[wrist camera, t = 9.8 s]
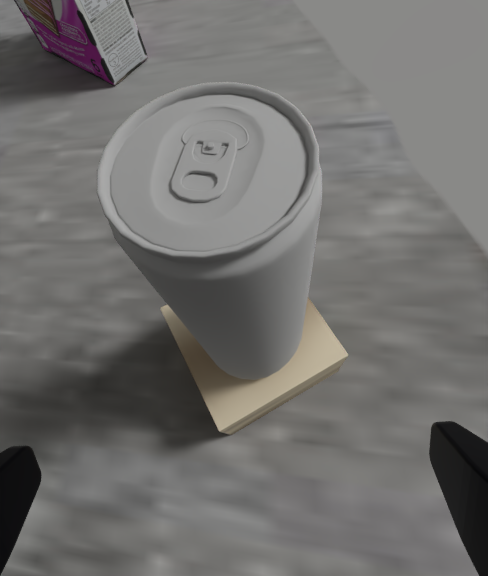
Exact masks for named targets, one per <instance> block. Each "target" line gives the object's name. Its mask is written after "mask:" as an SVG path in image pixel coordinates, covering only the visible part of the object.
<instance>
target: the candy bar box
mask: <svg viewBox="0 0 488 576" xmlns="http://www.w3.org/2000/svg"><path fill="white" fill-rule="evenodd" d="M14 1H15V3H16V4H17V6H18V7H19V9H20V11H21V12H22V14H23V16H24V17H25V19H26V20H27V22H28V24H29V25H30V27H31V29H32V30H33V32H34V34H35V35H36V37H37V39H38V40H39V42H40V44H41V45H42V47H43V48H44V49H45V50H47V51H49V52H51V53H53V54H55V55H57V56H59V57H61V58H63V59H65V60H67V61H69V62H71V63H73V64H74V65H76V66H78V67H80V68H82V69H84V70H86V71H88V72H90V73H92V74H94V75H96V76H97V77H99V78H101V79H103V80H105V81H107V82H109V83H111V84H112V85H116V84H118V83H119V82H121V81H122V80H123V79H125V78H126V77H127V75H129V74H130V73H131V72H132V71H133V70H134V69H135V68H136V67H138V66H139V65H140V64H141V63H143V62H144V61H145V60H146V59H147V58H148V56H147V53H146V50H145V47H144V45H143V42H142V39H141V36H140V33H139V30H138V28H137V25H136V22H135V19H134V16H133V14H132V11H131V8H130V5H129V2H128V0H14Z"/></svg>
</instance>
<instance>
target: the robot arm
mask: <svg viewBox="0 0 488 576" xmlns="http://www.w3.org/2000/svg"><path fill="white" fill-rule="evenodd" d="M429 455H430V461H431V464H432V467H433V469H434V472H435V474H436V477H437V480H438V482H439V485H440V487H441V490H442V492H443V495H444V497H445V500H446V502H447V505H448V508H449V510H450V513H451V515H452V518H453V520H454V523H455V525H456V528H457V530H458V533H459V535H460V537H461V540H462V542H463V544H464V546H465V548H466V550H467V552H468V555H469V557H470V558H471V560H472V562H473V564H474V566H475V568H476V570H477V572H478V574H479V576H488V442H486V441H485V440H483V439H481V438H480V437H478V436H477V435H475V434H473V433H472V432H470V431H469V430H467V429H465V428H464V427H462V426H461V425H459V424H457V423H455V422H452V421H446V422H435V423H433V425H432V427H431V438H430V450H429ZM40 482H41V470H40V468H39V465H38V462H37V460H36V457H35V455H34V452H33V450H32V448H31V447H29V446H13V447H10V448H8V449H6V450H4V451H3V452H1V453H0V575H1V573H2V571H3V569H4V567H5V565H6V563H7V561H8V559H9V557H10V555H11V552H12V550H13V548H14V546H15V543H16V541H17V539H18V536H19V534H20V531H21V529H22V527H23V524H24V522H25V519H26V517H27V514H28V512H29V510H30V507H31V505H32V502H33V500H34V498H35V495H36V493H37V490H38V488H39V485H40Z"/></svg>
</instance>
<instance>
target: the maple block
mask: <svg viewBox="0 0 488 576" xmlns="http://www.w3.org/2000/svg"><path fill="white" fill-rule="evenodd" d="M160 309H161V311H162V313H163V315H164V317H165V319H166V322H167V324H168V326H169V328H170V330H171V332H172V334H173V336H174V338H175V340H176V342H177V344H178V347H179V349H180V351H181V353H182V355H183V357H184V359H185V361H186V363H187V365H188V367H189V369H190V372H191V374H192V376H193V378H194V380H195V382H196V384H197V386H198V388H199V390H200V392H201V395H202V397H203V399H204V401H205V403H206V405H207V407H208V409H209V411H210V413H211V415H212V417H213V420H214V422H215V424H216V426H217V428H218V430H219V432H222V433H226V434H230V435H232V434H234V433H236V432H237V431H239V430H241V429H242V428H244V427H246V426H247V425H249V424H251V423H252V422H254V421H256V420H257V419H259V418H261V417H262V416H264V415H266V414H267V413H269V412H271V411H272V410H274V409H276V408H277V407H279V406H281V405H282V404H284V403H286V402H287V401H289V400H291V399H293V398H294V397H296V396H298V395H299V394H301V393H303V392H304V391H306V390H308V389H309V388H311V387H313V386H314V385H316V384H318V383H319V382H321V381H323V380H324V379H326V378H328V377H329V376H331V375H333V374H334V373H336V372H338V370H339V369H340V367H341V366H342V364H343V363H344V361H345V360H346V358H347V357H348V354H347V352H346V351H345V349H344V348H343V346H342V345H341V344H340V342H339V341H338V339H337V338H336V336H335V335H334V334H333V332H332V331H331V329H330V328H329V326H328V325H327V324H326V322H325V321H324V319H323V318H322V316H321V315H320V313H319V312H318V311H317V309H316V308H315V306H314V305H313V303H312V302H311V301H310V299H309V298H308V299H307V305H306V312H305V318H304V325H303V332H302V339H301V341H300V344H299V346H298V349H297V351H296V353H295V354H294V355H293V357H292V358H291V359H290V361H289V362H288V363H287V364H286V365H285V366H284V367H282V368H281V369H280V370H279V371H277V372H276V373H274V374H272V375H270V376H268V377H265V378H260V379H256V380H249V379H240V378H237V377H234V376H232V375H229V374H227V373H226V372H225V371H223V370H222V369H220V368H219V367H218V366H217V365H216V363H215V362H214V361H213V360H212V358H211V357H210V356H209V355H208V354H207V352H206V351H205V350H204V349H203V347H202V346H201V345H200V344H199V342H198V341H197V340H196V339H195V337H194V336H193V335H192V334H191V333H190V331H189V330H188V329H187V328H186V326H185V325H184V324H183V323H182V321H181V320H180V319H179V318H178V317H177V315H176V314H175V313H174V312H173V310H172V309H171V308H170V307H169V306H168V304H167V305H165V306H163V307H161V308H160Z"/></svg>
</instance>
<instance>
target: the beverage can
mask: <svg viewBox="0 0 488 576" xmlns="http://www.w3.org/2000/svg"><path fill="white" fill-rule="evenodd" d="M97 195H98V198H99V200H100V203H101V206H102V209H103V212H104V214H105V217H106V218H107V219H108V221H109V224H110V227H111V229H112V232H113V235H114V238H115V239H116V241H117V242H118V244H119V245H120V246H121V247H122V249H123V250H124V251H125V252H126V254H127V255H128V256H129V257H130V259H131V260H132V261H133V262H134V264H135V265H136V266H137V267H138V269H139V270H140V271H141V272H142V274H143V275H144V276H145V277H146V278H147V280H148V281H149V282H150V283H151V285H152V286H153V287H154V288H155V290H156V291H157V292H158V293H159V295H160V296H161V297H162V298H163V299H164V301H165V302H166V303H167V304H168V306H169V307H170V308H171V309H172V310H173V312H174V313H175V314H176V315H177V317H178V318H179V319H180V320H181V321H182V323H183V324H184V325H185V326H186V328H187V329H188V330H189V331H190V333H191V334H192V335H193V336H194V337H195V339H196V340H197V341H198V342H199V344H200V345H201V346H202V347H203V349H204V350H205V351H206V352H207V354H208V355H209V356H210V357H211V358H212V360H213V361H214V362H215V363H216V365H217V366H218V367H219V368H220V369H222V370H223V371H225V372H226V373H227V374H229V375H232V376H234V377H237V378H240V379H249V380H256V379H260V378H265V377H268V376H270V375H272V374H274V373H276V372H277V371H279V370H280V369H281V368H282V367H284V366H285V365H286V364H287V363H288V362H289V361H290V359H291V358H292V357H293V355H294V354H295V353H296V351H297V349H298V346H299V344H300V341H301V339H302V332H303V325H304V318H305V312H306V305H307V299H308V292H309V286H310V279H311V272H312V265H313V258H314V251H315V245H316V238H317V231H318V224H319V217H320V210H321V203H322V170H321V167H320V164H319V146H318V143H317V140H316V137H315V134H314V132H313V129H312V126H311V124H310V123H309V122H308V121H307V119H306V118H305V117H304V116H303V114H302V113H301V112H300V111H299V109H298V108H297V107H296V106H294V105H293V104H291V103H290V102H289V101H287V100H286V99H284V98H283V97H281V96H280V95H279V94H276V93H274V92H271V91H268V90H266V89H263V88H260V87H258V86H254V85H248V84H242V83H235V82H214V83H202V84H198V85H193V86H188V87H184V88H180V89H177V90H175V91H172V92H170V93H167V94H165V95H162V96H160V97H158V98H156V99H154V100H152V101H151V102H149V103H148V104H146V105H145V106H143V107H141V108H140V109H138V110H137V111H135V112H134V113H133V114H132V115H131V116H130V117H129V118H128V119H127V120H126V121H125V122H124V123H123V124H122V125H121V126H119V127H118V128H117V130H116V131H115V133H114V134H113V136H112V137H111V139H110V140H109V142H108V143H107V145H106V147H105V148H104V150H103V154H102V157H101V160H100V163H99V166H98V169H97Z"/></svg>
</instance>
